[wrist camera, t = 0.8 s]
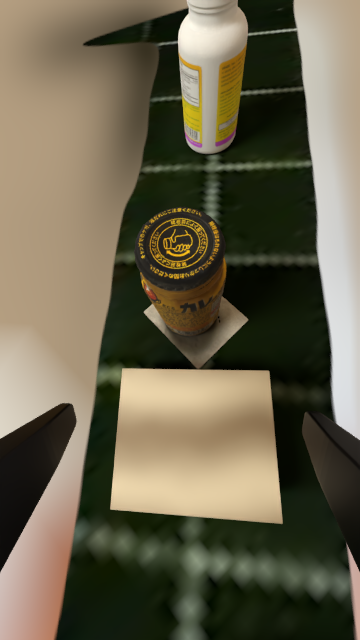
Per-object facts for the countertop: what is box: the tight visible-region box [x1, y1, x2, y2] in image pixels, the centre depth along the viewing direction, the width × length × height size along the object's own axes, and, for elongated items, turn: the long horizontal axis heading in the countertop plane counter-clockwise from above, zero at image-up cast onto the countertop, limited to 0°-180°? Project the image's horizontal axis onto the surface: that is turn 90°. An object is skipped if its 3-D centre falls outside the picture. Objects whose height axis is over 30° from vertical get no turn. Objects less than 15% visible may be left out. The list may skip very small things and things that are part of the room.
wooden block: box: [110, 369, 283, 524], centre depth 19 cm, size 10×12×4 cm
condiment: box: [134, 207, 248, 369], centre depth 18 cm, size 7×8×12 cm
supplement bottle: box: [178, 0, 248, 154], centre depth 24 cm, size 7×7×13 cm
